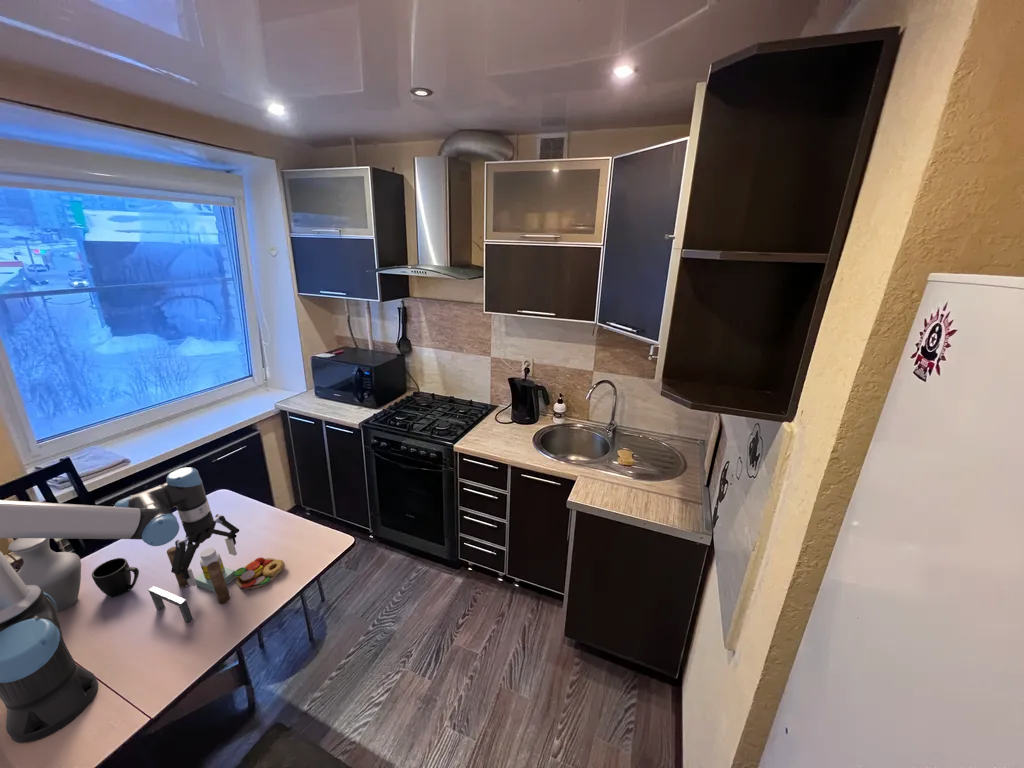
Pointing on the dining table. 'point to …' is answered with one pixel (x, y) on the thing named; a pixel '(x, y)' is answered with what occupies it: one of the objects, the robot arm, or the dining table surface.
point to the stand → (208, 584)
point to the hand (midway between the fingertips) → (213, 568)
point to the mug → (115, 577)
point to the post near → (218, 582)
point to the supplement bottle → (210, 561)
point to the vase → (49, 570)
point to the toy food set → (258, 572)
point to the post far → (171, 555)
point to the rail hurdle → (160, 594)
